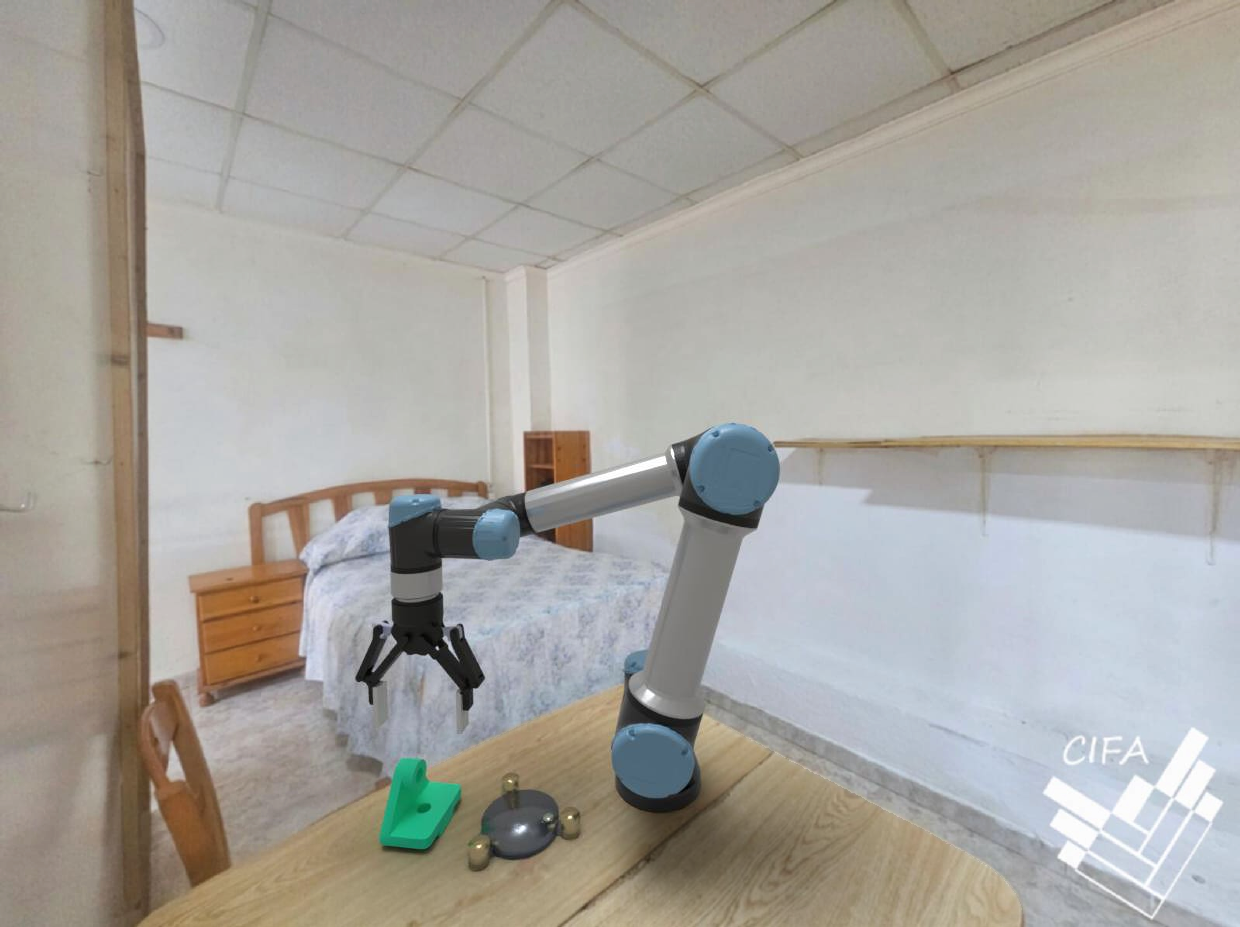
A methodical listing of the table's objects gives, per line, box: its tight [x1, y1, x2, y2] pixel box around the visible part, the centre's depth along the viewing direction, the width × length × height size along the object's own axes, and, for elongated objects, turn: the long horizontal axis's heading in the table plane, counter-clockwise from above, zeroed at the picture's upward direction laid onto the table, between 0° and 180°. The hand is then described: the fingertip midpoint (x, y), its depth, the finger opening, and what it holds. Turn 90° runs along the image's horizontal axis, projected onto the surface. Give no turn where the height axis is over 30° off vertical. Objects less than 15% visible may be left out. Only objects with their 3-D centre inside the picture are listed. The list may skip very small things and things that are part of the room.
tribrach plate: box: [467, 772, 581, 872], centre depth 81 cm, size 16×17×3 cm
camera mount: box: [379, 757, 462, 850], centre depth 82 cm, size 12×8×10 cm, turn 172°
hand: (421, 726), depth 82 cm, fingers open, 13 cm apart
